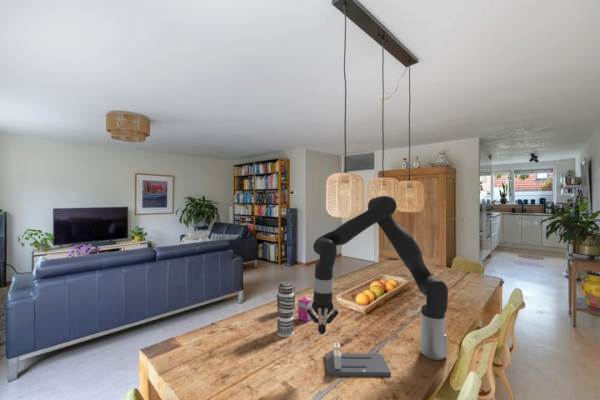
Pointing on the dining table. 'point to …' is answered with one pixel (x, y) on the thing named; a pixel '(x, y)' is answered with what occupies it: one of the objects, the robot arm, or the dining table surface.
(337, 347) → the white fader
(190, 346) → the dining table surface
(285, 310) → the decorative candle
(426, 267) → the robot arm
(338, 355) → the grey fader
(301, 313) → the supplement box
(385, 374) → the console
